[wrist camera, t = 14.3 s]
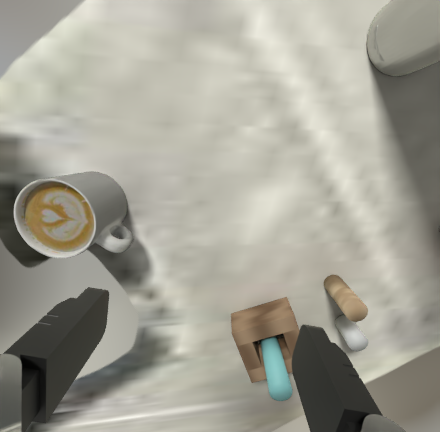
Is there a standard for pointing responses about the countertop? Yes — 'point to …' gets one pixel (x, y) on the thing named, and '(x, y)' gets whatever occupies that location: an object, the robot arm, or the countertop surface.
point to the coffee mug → (73, 214)
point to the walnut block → (264, 334)
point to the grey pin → (351, 333)
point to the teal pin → (275, 369)
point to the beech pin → (345, 298)
